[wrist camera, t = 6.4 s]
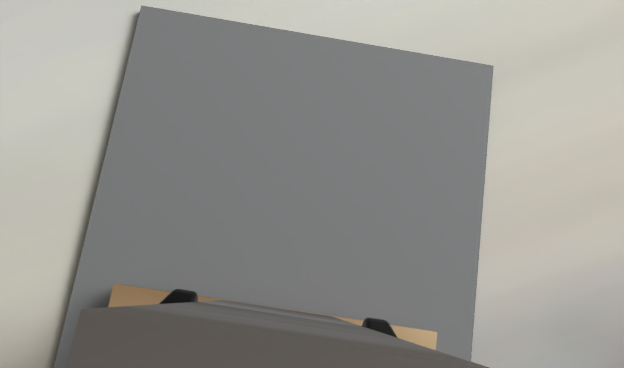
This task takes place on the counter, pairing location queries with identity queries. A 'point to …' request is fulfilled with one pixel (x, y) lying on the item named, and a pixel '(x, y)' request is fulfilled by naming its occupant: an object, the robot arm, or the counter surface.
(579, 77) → the counter surface
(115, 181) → the lane mat
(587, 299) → the counter surface
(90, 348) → the wooden base with post
